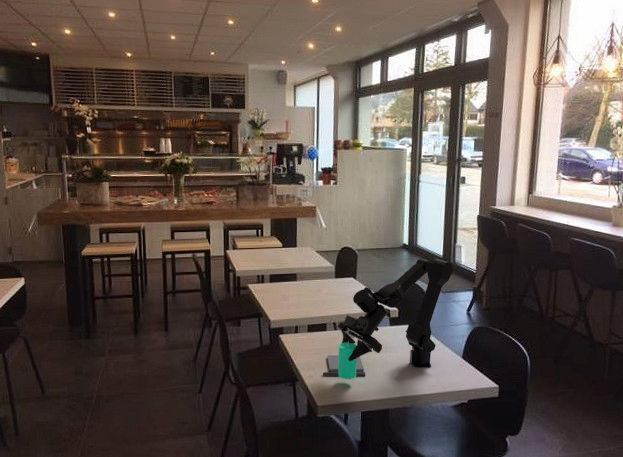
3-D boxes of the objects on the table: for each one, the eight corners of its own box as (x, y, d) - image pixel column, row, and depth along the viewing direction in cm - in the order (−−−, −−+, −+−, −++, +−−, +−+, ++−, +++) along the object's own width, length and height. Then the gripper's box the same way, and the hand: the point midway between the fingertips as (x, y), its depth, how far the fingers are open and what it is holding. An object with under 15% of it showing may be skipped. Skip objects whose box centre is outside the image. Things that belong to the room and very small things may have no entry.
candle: (355, 380, 180) (356, 345, 178) (337, 378, 181) (337, 343, 179) (357, 372, 186) (358, 338, 184) (339, 370, 187) (340, 337, 185)
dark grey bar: (364, 375, 191) (364, 371, 191) (365, 377, 190) (365, 373, 190) (322, 375, 190) (322, 371, 190) (322, 377, 189) (322, 373, 189)
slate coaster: (359, 357, 205) (359, 355, 205) (363, 371, 193) (363, 369, 193) (327, 357, 205) (327, 355, 204) (329, 371, 193) (329, 369, 193)
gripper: (342, 299, 189) (315, 335, 186) (376, 314, 174) (346, 354, 170) (360, 317, 195) (334, 352, 191) (394, 333, 179) (366, 372, 176)
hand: (344, 357), depth 182 cm, fingers closed on candle, 5 cm apart
